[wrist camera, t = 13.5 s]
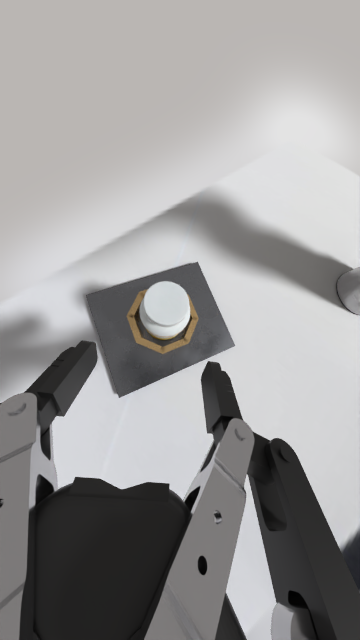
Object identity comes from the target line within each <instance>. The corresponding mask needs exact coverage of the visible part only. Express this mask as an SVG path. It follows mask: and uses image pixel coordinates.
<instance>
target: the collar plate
mask: <svg viewBox="0 0 360 640" xmlns="http://www.w3.org/2000/svg"><path fill="white" fill-rule="evenodd" d="M162 281H169V282H173V283H176V284H178V285H179V286H181V287H182V288H183V289H184V290H185V292H186V293H187V295H188V298H189V306H190V318H189V321H188V323H187V325H186V327H185V328H184V329H183V330H182V331H181V332H180V333H179V334H178V335H176V336H175V337H174V338H172V339H169V340H158V339H155V338H153V337H152V336H151V335H150V334H149V333H148V331H147V330H146V328H145V327H144V325H143V323H142V321H141V318H140V304H141V302H142V300H143V298H144V296H145V293H146V291H147V290H148V289H149V288H150V287H151V286H152V285H154V284H155V283H158V282H162ZM86 297H87V300H88V303H89V306H90V309H91V312H92V315H93V318H94V321H95V325H96V328H97V331H98V334H99V337H100V340H101V343H102V346H103V349H104V352H105V356H106V359H107V362H108V365H109V368H110V371H111V374H112V377H113V380H114V384H115V387H116V390H117V393H118V396H119V398H120V397H122V396H124V395H127V394H129V393H131V392H133V391H136V390H138V389H140V388H142V387H144V386H147V385H149V384H151V383H153V382H156V381H158V380H160V379H162V378H165V377H167V376H169V375H171V374H173V373H176V372H178V371H180V370H182V369H185V368H187V367H189V366H191V365H194V364H196V363H198V362H200V361H202V360H205V359H207V358H209V357H211V356H214V355H216V354H218V353H220V352H223V351H225V350H227V349H229V348H231V347H234V346H235V344H234V342H233V340H232V338H231V335H230V333H229V331H228V329H227V327H226V324H225V322H224V320H223V318H222V315H221V313H220V311H219V309H218V306H217V304H216V302H215V300H214V297H213V295H212V293H211V291H210V288H209V286H208V284H207V282H206V280H205V277H204V275H203V273H202V271H201V268H200V266H199V264H198V262H196V263H192V264H189V265H186V266H182V267H179V268H176V269H172V270H169V271H166V272H162V273H159V274H155V275H152V276H149V277H145V278H142V279H139V280H135V281H132V282H129V283H125V284H122V285H119V286H115V287H112V288H108V289H105V290H102V291H98V292H95V293H92V294H88V295H86Z"/></svg>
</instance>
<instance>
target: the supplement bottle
mask: <svg viewBox="0 0 360 640" xmlns="http://www.w3.org/2000/svg"><path fill="white" fill-rule="evenodd" d="M140 318H141V321H142V323H143V325H144V327H145V328H146V330H147V331H148V333H149V334H150V335H151V336H152V337H153V338H155V339H158V340H169V339H172V338H174V337H175V336H176V335H178V334H179V333H180V332H181V331H182V330H183V329H184V328H185V327H186V325H187V323H188V321H189V318H190V306H189V298H188V295H187V293H186V292H185V290H184V289H183V288H182V287H181V286H179V285H178V284H176V283H173V282H169V281H162V282H158V283H155V284H154V285H152V286H151V287H150V288H149V289H148V290H147V291H146V293H145V296H144V298H143V300H142V302H141V304H140Z"/></svg>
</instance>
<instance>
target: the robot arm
mask: <svg viewBox="0 0 360 640" xmlns="http://www.w3.org/2000/svg"><path fill="white" fill-rule="evenodd" d="M337 290H338V294H339V297H340V299H341V301H342V302H343V304H344V305H345V306H346V307H347V308H348V309H349V310H350V311H351V312H353V313H355V314H358V315H360V267H358V268H356V269H353V270H351V271H349V272H346V273H344V274H343V275H341V276H340V278H339V280H338V284H337ZM96 363H97V350H96V344H95V342H89V341H81V342H80V343H79V344H78V345H77V346H76V347H70V348H69V349H67V350H65V351H64V352H62V353H61V354H60V355H59V357H58V358H57V359H56V361H54V362H53V363H52V364H51V366H49V367H48V368H47V369H46V370H45V371H44V372H43V373H42V375H41V376H40V377H39V378H38V379H37V380H36V381H35V382H34V383H33V384H32V385H31V386H30V387H29V388H28V389H27V390H26V391H25V392H24V393H21V394H18V395H15V396H13V397H11V398H9V399H7V400H6V401H4V402H3V403H0V640H247V639H246V637H245V635H244V632H243V630H242V628H241V626H240V623H239V621H238V619H237V616H236V614H235V612H234V610H233V607H232V605H231V603H230V601H229V598H228V596H227V594H226V587H227V583H228V578H229V574H230V570H231V565H232V561H233V556H234V552H235V547H236V543H237V538H238V534H239V530H240V525H241V521H242V516H243V512H244V507H245V503H246V491H245V490H244V482H245V478H246V474H248V477H249V481H250V486H251V490H252V495H253V499H254V504H255V508H256V513H257V517H258V521H259V526H260V530H261V535H262V539H263V544H264V548H265V553H266V557H267V562H268V566H269V571H270V575H271V580H272V584H273V589H274V593H275V598H276V602H277V604H276V605H275V607H274V609H273V613H272V621H271V622H272V623H271V637H272V640H360V593H359V591H358V588H357V586H356V584H355V582H354V580H353V578H352V575H351V573H350V571H349V569H348V567H347V564H346V562H345V560H344V558H343V556H342V553H341V551H340V549H339V547H338V545H337V542H336V540H335V538H334V536H333V534H332V531H331V529H330V527H329V525H328V523H327V520H326V518H325V516H324V514H323V512H322V509H321V507H320V505H319V503H318V501H317V499H316V496H315V494H314V492H313V490H312V488H311V485H310V483H309V481H308V479H307V477H306V474H305V472H304V470H303V468H302V466H301V463H300V461H299V459H298V457H297V455H296V453H295V452H294V450H293V449H292V448H291V447H290V445H288V444H287V443H286V442H285V441H283V440H281V439H279V438H274V439H273V440H271V441H270V440H268V439H266V438H264V437H262V436H260V435H258V434H256V433H254V432H253V431H252V430H251V428H250V427H249V426H248V425H247V423H245V422H244V421H243V419H242V416H241V413H240V410H239V406H238V403H237V400H236V397H235V393H234V390H233V387H232V384H231V380H230V378H229V376H228V375H227V373H226V372H225V371H221V367H220V364H219V363H217V362H210V361H208V363H207V365H206V367H205V369H204V371H203V373H202V377H201V384H202V393H203V401H204V410H205V418H206V427H207V433H211V434H213V438H214V440H213V442H212V444H211V446H210V448H209V450H208V452H207V455H206V457H205V459H204V461H203V463H202V465H201V467H200V469H199V471H198V473H197V475H196V477H195V478H194V480H193V481H192V483H191V485H190V487H189V489H188V491H187V493H186V495H185V497H184V499H183V500H182V499H181V498H180V497H179V496H178V495H177V494H176V493H175V492H173V491H172V490H170V489H169V484H166V483H152V482H146V483H143V484H140V485H136V486H133V487H130V488H127V489H119V488H117V487H115V486H113V485H111V484H109V483H107V482H105V481H103V480H101V479H96V478H82V477H75V479H74V482H73V483H71V484H69V485H66V486H64V487H62V488H60V489H58V481H57V472H56V468H55V464H54V456H53V436H52V421H53V420H54V418H55V417H56V416H63V417H64V416H65V414H66V412H67V411H68V409H69V408H70V406H71V404H72V403H73V401H74V399H75V398H76V396H77V395H78V393H79V391H80V390H81V388H82V387H83V385H84V383H85V382H86V380H87V378H88V377H89V375H90V374H91V372H92V370H93V369H94V367H95V365H96Z"/></svg>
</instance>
